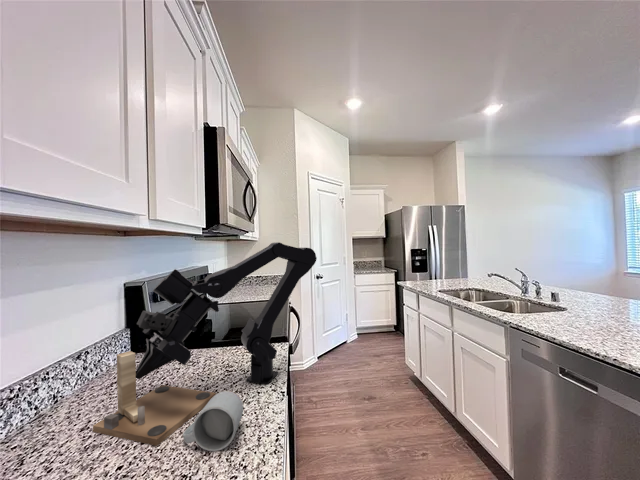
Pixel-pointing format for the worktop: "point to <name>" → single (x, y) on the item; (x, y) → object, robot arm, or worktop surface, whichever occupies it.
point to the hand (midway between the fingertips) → (136, 377)
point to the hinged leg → (127, 385)
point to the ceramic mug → (216, 422)
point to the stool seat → (156, 415)
